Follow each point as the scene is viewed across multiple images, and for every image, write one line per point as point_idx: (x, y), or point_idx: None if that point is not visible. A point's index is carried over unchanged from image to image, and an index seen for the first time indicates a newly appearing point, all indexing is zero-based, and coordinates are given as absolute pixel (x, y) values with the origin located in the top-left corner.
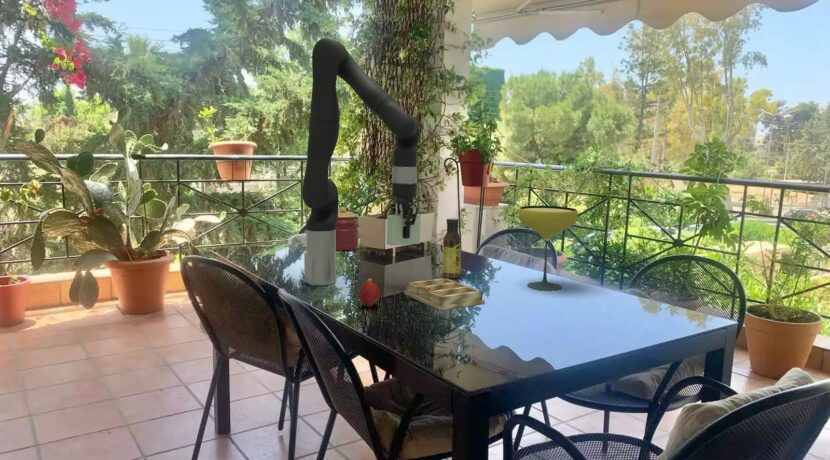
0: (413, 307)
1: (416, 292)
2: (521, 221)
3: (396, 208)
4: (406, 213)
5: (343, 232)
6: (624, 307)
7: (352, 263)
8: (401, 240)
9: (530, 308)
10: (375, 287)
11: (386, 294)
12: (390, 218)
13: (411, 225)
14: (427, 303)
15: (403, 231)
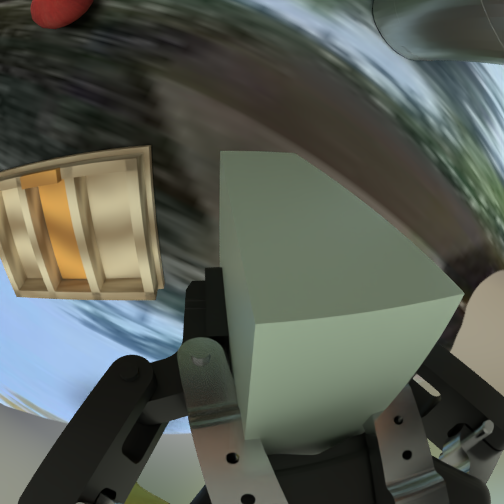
0: (25, 119)
1: (80, 161)
2: (128, 500)
3: (419, 477)
4: (204, 488)
5: None
6: (28, 394)
7: (486, 211)
8: (220, 245)
9: (7, 324)
10: (32, 10)
11: (174, 90)
12: (316, 272)
13: None
14: (31, 163)
15: (208, 300)
